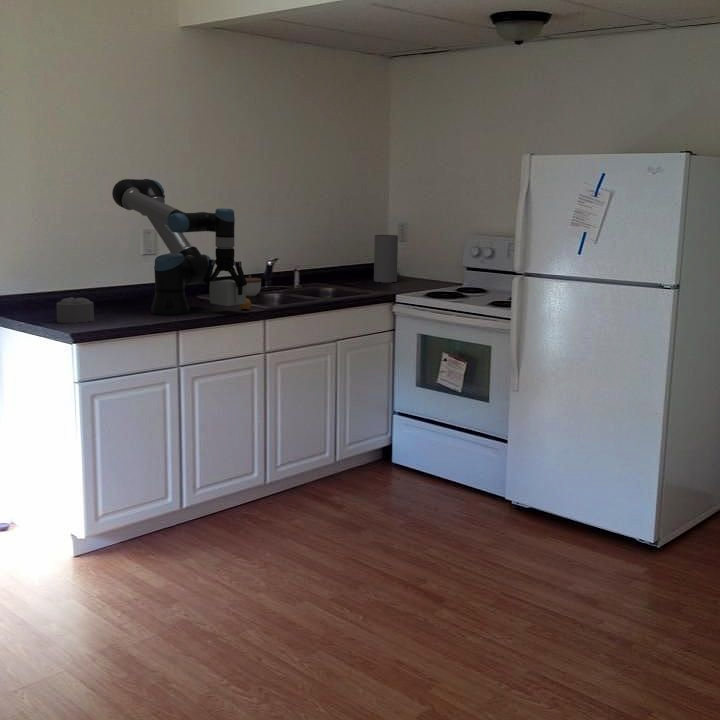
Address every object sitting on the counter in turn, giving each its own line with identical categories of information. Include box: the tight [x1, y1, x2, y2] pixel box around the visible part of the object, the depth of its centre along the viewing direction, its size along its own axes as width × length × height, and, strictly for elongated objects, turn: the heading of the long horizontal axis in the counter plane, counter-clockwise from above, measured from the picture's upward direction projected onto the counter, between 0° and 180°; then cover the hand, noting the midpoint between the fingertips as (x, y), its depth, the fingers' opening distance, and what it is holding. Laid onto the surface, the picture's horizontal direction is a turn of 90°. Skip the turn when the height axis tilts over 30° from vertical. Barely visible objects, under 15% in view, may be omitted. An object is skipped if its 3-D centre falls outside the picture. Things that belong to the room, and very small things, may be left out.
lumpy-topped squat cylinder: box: [55, 296, 95, 324], centre depth 339 cm, size 10×13×9 cm
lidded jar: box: [245, 274, 262, 297], centre depth 422 cm, size 11×11×9 cm
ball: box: [239, 297, 252, 310], centre depth 375 cm, size 5×5×5 cm
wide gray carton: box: [209, 279, 247, 307], centre depth 365 cm, size 10×10×9 cm
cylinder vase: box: [373, 234, 399, 284], centre depth 486 cm, size 12×12×25 cm
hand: (225, 301), depth 365 cm, fingers closed on wide gray carton, 11 cm apart
